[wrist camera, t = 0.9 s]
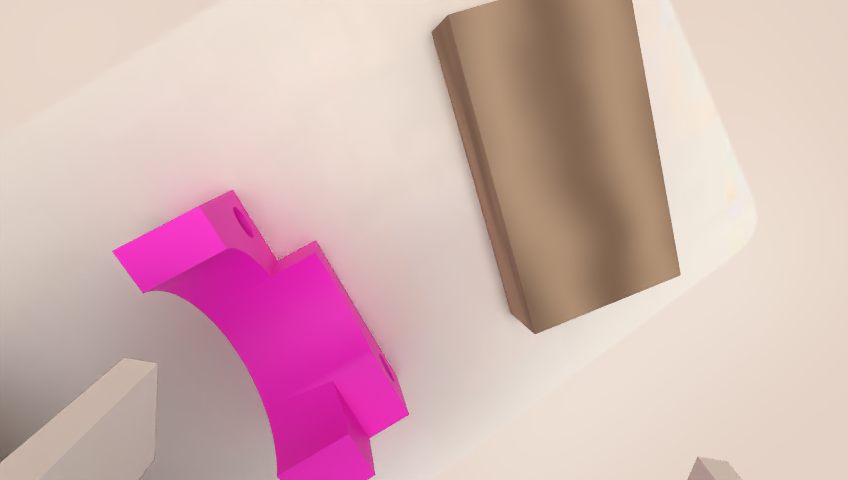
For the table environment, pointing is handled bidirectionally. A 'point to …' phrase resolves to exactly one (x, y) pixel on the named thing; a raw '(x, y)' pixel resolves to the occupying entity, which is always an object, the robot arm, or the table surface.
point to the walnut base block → (560, 151)
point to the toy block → (280, 335)
